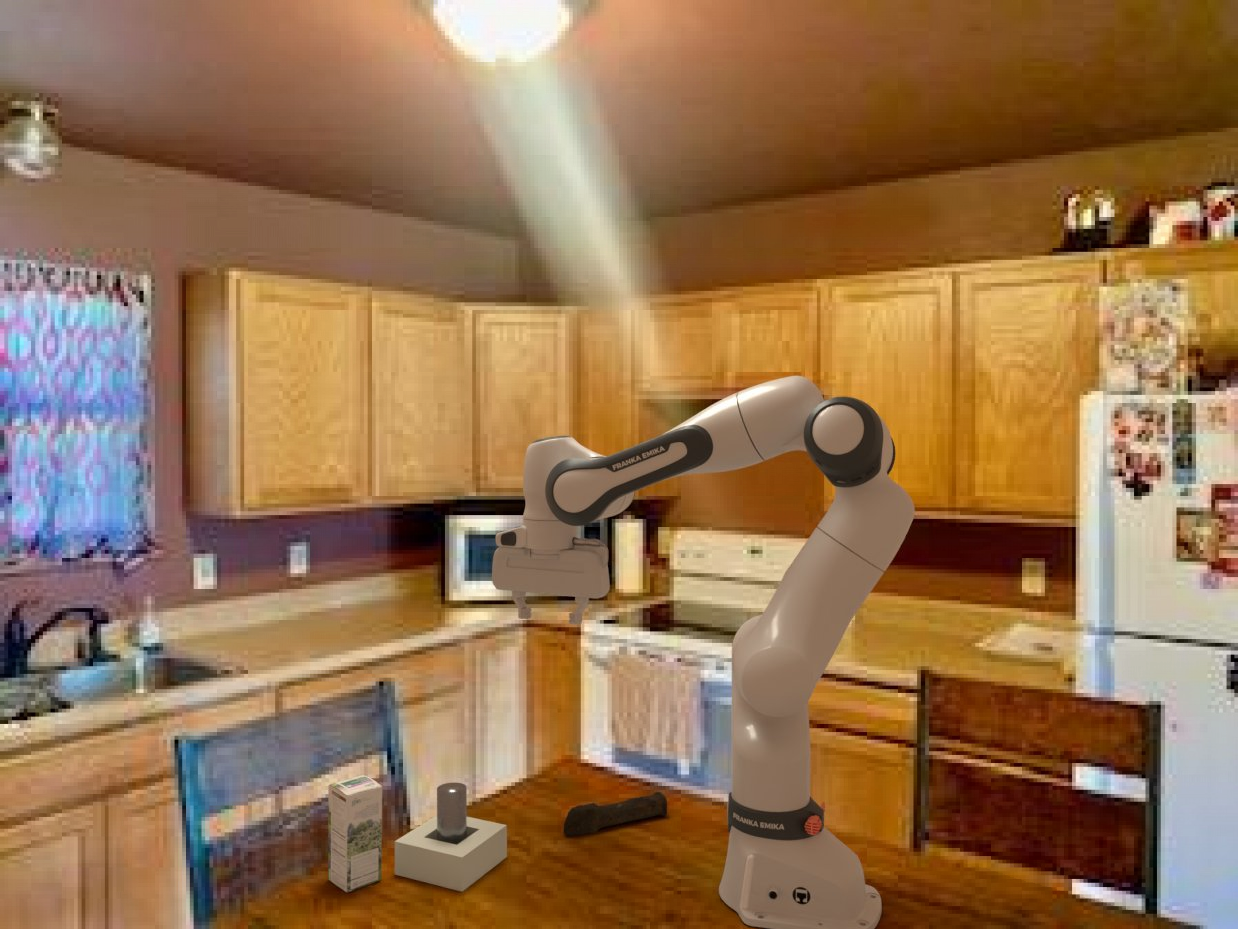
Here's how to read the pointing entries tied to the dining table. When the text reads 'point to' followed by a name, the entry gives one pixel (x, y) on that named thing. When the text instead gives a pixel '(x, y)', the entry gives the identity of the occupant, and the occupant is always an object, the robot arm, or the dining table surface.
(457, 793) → the pin
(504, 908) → the dining table surface
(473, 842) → the frame
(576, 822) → the hand tool
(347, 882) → the syrup box
